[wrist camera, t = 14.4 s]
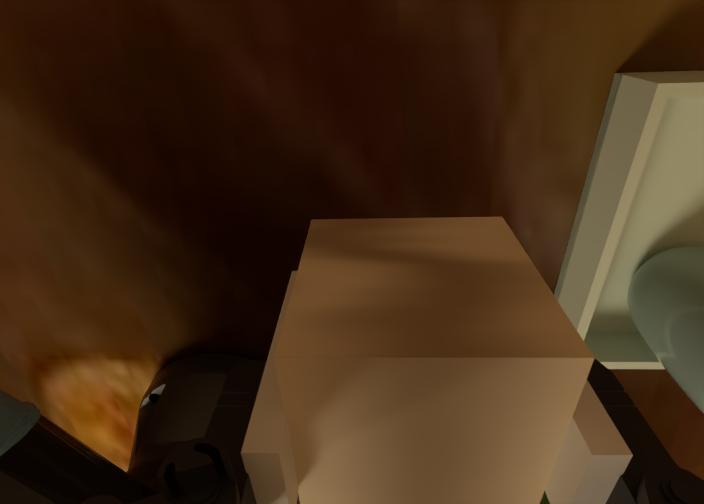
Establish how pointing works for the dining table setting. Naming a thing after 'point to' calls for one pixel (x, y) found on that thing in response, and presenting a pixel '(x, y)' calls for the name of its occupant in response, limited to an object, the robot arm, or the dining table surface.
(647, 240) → the tray
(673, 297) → the cup
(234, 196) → the dining table surface
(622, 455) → the robot arm
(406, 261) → the beech block
